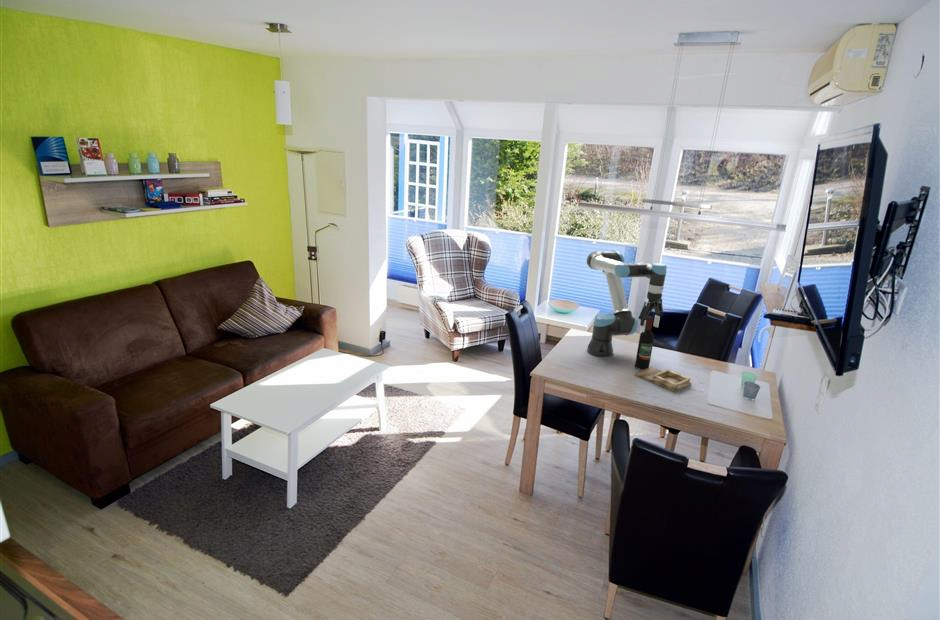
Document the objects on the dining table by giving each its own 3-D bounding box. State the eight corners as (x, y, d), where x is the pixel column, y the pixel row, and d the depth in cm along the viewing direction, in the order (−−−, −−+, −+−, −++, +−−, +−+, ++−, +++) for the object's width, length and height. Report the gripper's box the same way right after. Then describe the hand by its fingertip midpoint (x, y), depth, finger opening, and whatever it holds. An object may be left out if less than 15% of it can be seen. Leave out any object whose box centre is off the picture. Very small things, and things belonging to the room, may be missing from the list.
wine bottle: (647, 364, 290) (655, 315, 281) (650, 370, 283) (659, 320, 273) (633, 363, 291) (641, 314, 281) (636, 369, 284) (645, 318, 274)
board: (634, 374, 276) (635, 368, 275) (650, 368, 286) (652, 362, 285) (674, 392, 258) (676, 385, 257) (690, 384, 268) (692, 378, 267)
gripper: (648, 297, 262) (641, 335, 269) (673, 290, 277) (667, 326, 284) (635, 293, 268) (629, 330, 274) (661, 287, 283) (655, 323, 290)
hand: (648, 328), depth 279 cm, fingers open, 13 cm apart
